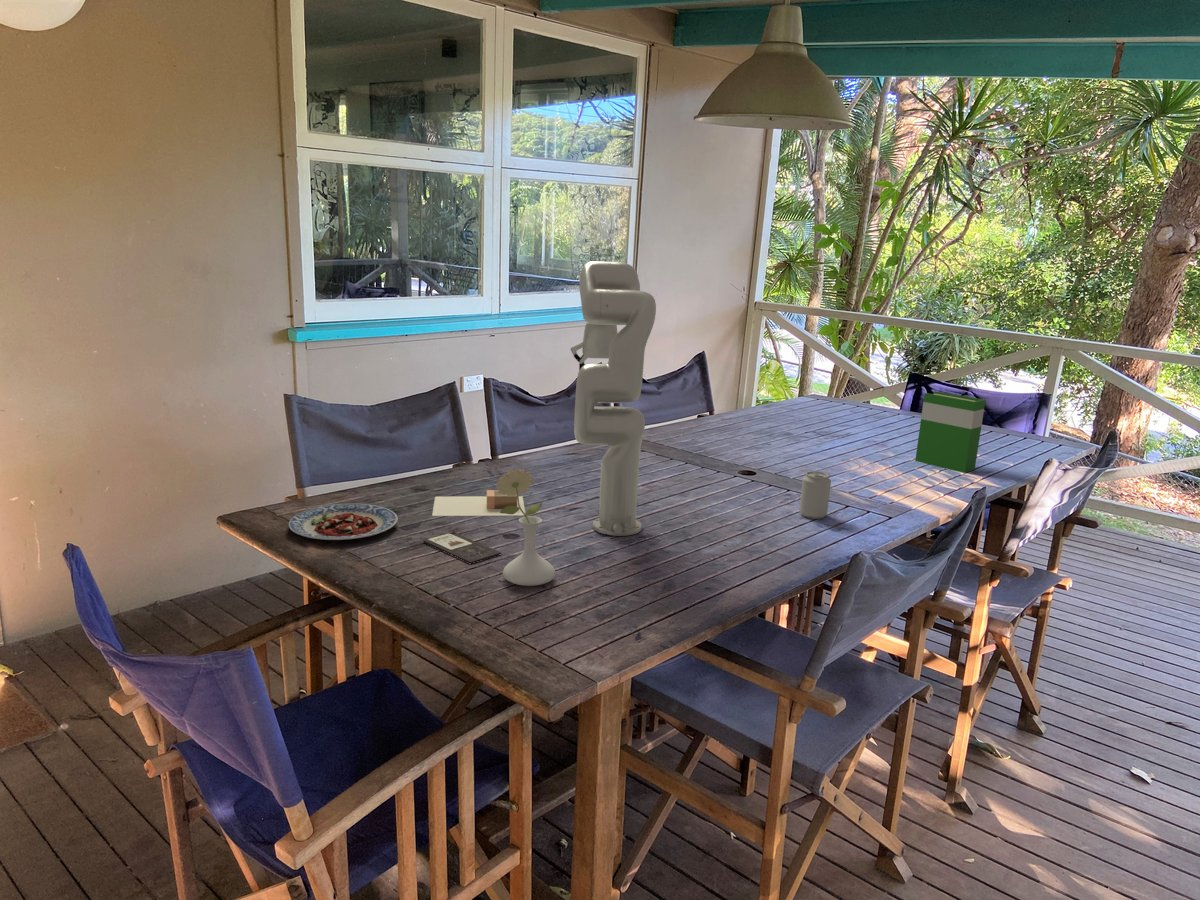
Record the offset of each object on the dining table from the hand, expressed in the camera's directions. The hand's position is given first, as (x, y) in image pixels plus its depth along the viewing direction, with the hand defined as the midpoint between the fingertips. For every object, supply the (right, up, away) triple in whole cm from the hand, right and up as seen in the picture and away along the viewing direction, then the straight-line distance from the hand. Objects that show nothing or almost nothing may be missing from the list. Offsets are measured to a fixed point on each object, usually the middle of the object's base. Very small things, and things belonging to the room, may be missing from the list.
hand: (598, 376), depth 255 cm
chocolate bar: (-32, -46, -53) cm, 77 cm away
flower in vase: (-16, -50, -69) cm, 87 cm away
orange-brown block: (-26, -37, -24) cm, 51 cm away
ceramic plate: (-63, -41, -43) cm, 86 cm away
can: (+59, -40, -19) cm, 74 cm away
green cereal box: (+119, -27, +39) cm, 128 cm away
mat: (-32, -37, -25) cm, 55 cm away
